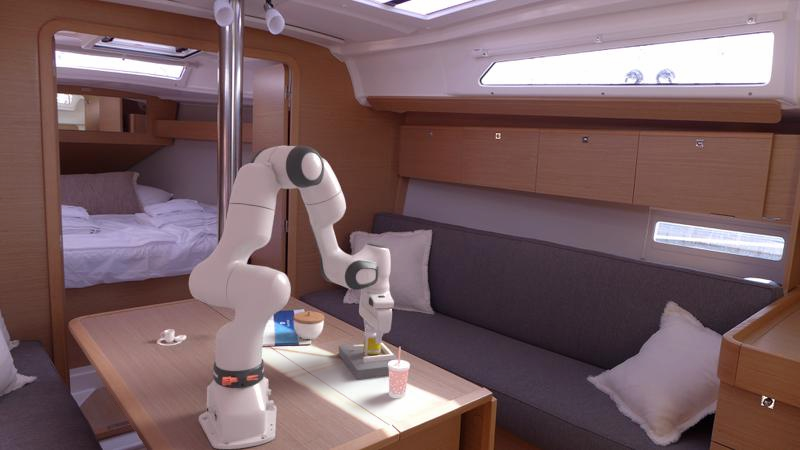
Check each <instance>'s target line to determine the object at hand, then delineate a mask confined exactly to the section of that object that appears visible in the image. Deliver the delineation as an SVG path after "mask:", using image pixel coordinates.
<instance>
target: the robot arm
mask: <svg viewBox="0 0 800 450" xmlns="http://www.w3.org/2000/svg"><path fill="white" fill-rule="evenodd" d="M232 186H233V187H232V189H231V193H230V198H229V203H228V208H227V214H226V218H225V219H226V220H225V224H224V228H223V231H222V235H221V238H220V240H219V241H218V244H217V245H216V247H215V248H214V250H213V251H212V252H211V254H210V255H208V257H207V258H205V259H204V260H203V261H201V262H199V263H198V264H197V265H195V267H193V269H192V270H191V272H190V274H189V278H188V289H189V292H190V294H191V295H192V297H193V298H194V299H196V300H198V301H200V302H203V303H204V304H207V305H210V306H217V307H222V308H227V309H228V308H229V309H234V311H235V315H234V319H233V320H231V321H229V322H227V323H225V324H224V325H222V326H221V327H220V328H219V329H218V331H217V332H216V335H215V361H214V363H213V368H212V373H213V375H212V376H213V380H212V381H211V382H210V384H209V385H207V387H206V411H205V412H203V413H201V414H199V416H198V422H199V425H200V426H201V428H202V429H203V432H204V434H205V436H206V437H207V439H208V441H209V443H210V444H211V447H213V448H214V449H219V450H236V449H243V448H244V449H245V448H250V447H254V446H256V447H257V446H260V445H263V444H267V443H269V442H271V441H273V440H274V439H275V437H276V431H277V429H276V428H277V414H278V413H277V412H278V411H277V410H278V409H277V406H276V405H275V403H274V402H275V401H274V400H272V399H271V400H269V396H271V395H272V389H271V388H269V379H268V378H267V377H265V364H264V363H265V362H264V359H263V343H264V342H263V341H264V333H265V330H266V327H267V324H268V322H269V321H270V319H271V318H272V317H273V316H274V315H275V314H277V313H278V312H280V311H281V310H282V309H284V307H285V306H286V305H287V304H288V301H289V300H290V297H291V291H292V290H291V282H290V280H289V277H288V275H287V274H286V273H284V272H282V271H280V270H277V269H274V268H271V267H269V266H264V265H256V264H255V265H254V264H248V260H249V258H250V256H251V255H252V254H253V253H254V252H255V251H256V250H259V249H261V248H263V247H265V246H267V244H268V243H269V242H270V240H271V238H272V232H273V226H274V221H275V220H274V217H275V212H276V208H277V207H276V205H277V197H278V196H277V195H278V193H279V191H280V190H281V189H283V190H284V189H285V190H290V189H291V190H292V189H298V190H299V193H300V195H301V198H302V200H303V201H302V202H303V205H305V208H306V211H307V214H308V217H309V219H308V221H309V226H310V230H311V232H312V235H313V236H312V237H313V238H314V243H315V246H316V248H317V252H318V255H319V270H320V275H321V277H322V278H323V279H324V280H325V281H327V282H328V283H333V284H336V285H338V286H339V285H340V286H342V287H344V288H347V289H350V290H352V291H353V290H354V291H359V290H360V297H359V303H358V305H359V307H358V313H359V315H360V316H361V317H362V318H363V323H364V324H363V325H364V332H365V331H367V324H370V325H371V326H372V327H373V328H374V329H375V330H376V337H375V340H374V341H375V343H376V344H380V343H381V342H383V341H382V338H383V336H384V334H388V333H389V332H390V331H391V327H392V319H393V311H392V310H393V309H392V308H394V307H395V306H394V305H395V301H394V299H393V297H392V295H391V291H390V288H391V287H390V281H389V280H390V275H391V265H392V264H391V263H392V260H391V258H392V257H391V252H390V249H389V248H388V246H385V245H383V244H378V243H372V242H368V243H365V245H364V246H363V248H362V249H361V250H359V251H358V252H356V253H354V254H350V253H349V254H348V253H346V252H344V251H343V250H342V249H341V248H340V247H339V244H338V241H337V238H336V237H337V236H336V234H335V230H334V224H336V223H337V222H339V221H340V220H341V219H342V218H343V217H344V215H345V213H346V209H347V204H346V199H345V195H344V193H343V191H342V188H341V185H340V183H339V180H338V178H337V176H336V174H335V172H334V170H333V169H332V167H331V165H330V163H328V161H327V159H325V158H323V157H322V156H321V155H320V153H319V152H318V151H317V150H315V148H313V147H310V146H306V145H297V146H295V145H278V146H272V147H264V148H262V149H259V150H258V151H256V152H255V153H253V155H252V156H251V157H250V160H249V162H248V163H246V164H243V165H242V166H241V167H240V168H239V169H238V171H237V174H236V177H235V180H234V183H233V185H232Z"/></svg>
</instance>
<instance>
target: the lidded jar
mask: <svg viewBox="0 0 800 450" xmlns="http://www.w3.org/2000/svg"><path fill="white" fill-rule="evenodd" d="M324 323H325V315H324V314H323V313H321V312H317V311H311V310H308V311H300V312H297V313H295V314H294V315H293V328H294V329H293V330H294V332H295V333H296V335H297V336H298V337H299V338H300V337H301V338H303V339H310V340H309V341H312V340H316V339H317V338H318V337H319V336H320V335H321V334H322V332H323V329H324V326H325V325H324ZM301 338H300V339H301ZM303 339H302V340H303Z"/></svg>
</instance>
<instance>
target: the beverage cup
mask: <svg viewBox="0 0 800 450" xmlns="http://www.w3.org/2000/svg"><path fill="white" fill-rule="evenodd" d="M397 358H398V360H392V361H390V362H389V363H388V368H389V376H388V395H389V396H390V397H391V398H393V399H401V398H404V397H405V396H406V394H407V385H408V384H407V383H408V377H409V376H408V375H409V370H410V368H411V364H410V362H409V361H407V360H404V359H401V346H398V356H397Z"/></svg>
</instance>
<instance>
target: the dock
mask: <svg viewBox="0 0 800 450" xmlns="http://www.w3.org/2000/svg"><path fill="white" fill-rule="evenodd" d="M363 350H364V342H363V343H353V344H344V345H343V344H342V345H338V355H339V357H340V359H342V362H343V363H344V364H345V365H346V367H347V368H348V369H349V371H350V372H351V373H352V375H353V376H354V377H355V379H356V380H358V381H360V380H365V379H366V380H368V379H374V378H375V379H376V378H382V377H384V378H385V377H389V368H388V363H389V362H390V361H392V360H398V356H397V355H396V354H395V353H394V352H392V350H391V349H390V348H389V347H388V346H387V345H386V344H385V343H384V342H383V341H381V352H380V355H378V356H368V357H366V356H364V354H363Z"/></svg>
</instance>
